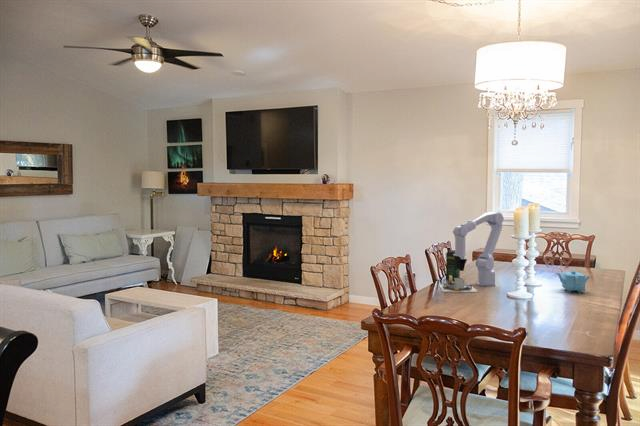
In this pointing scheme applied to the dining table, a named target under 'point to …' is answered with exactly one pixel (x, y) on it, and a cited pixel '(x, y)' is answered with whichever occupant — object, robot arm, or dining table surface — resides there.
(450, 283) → the sprocket
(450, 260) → the coffee jar
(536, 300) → the dining table surface
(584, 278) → the teapot
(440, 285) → the base plate
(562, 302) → the dining table surface
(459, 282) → the yellow banded block
